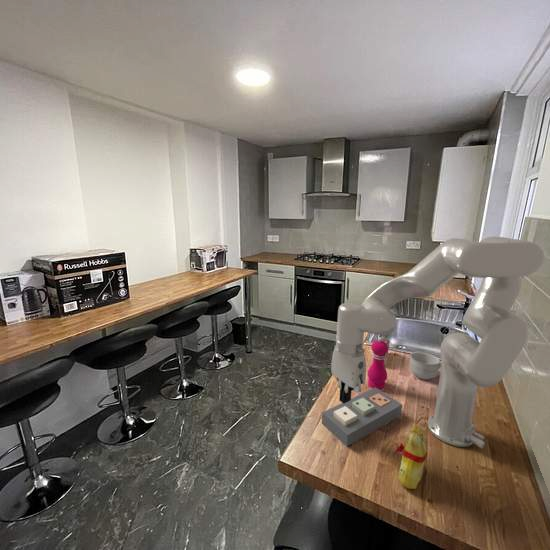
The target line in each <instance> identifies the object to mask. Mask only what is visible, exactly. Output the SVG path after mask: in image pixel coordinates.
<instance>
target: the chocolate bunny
mask: <svg viewBox="0 0 550 550" xmlns="http://www.w3.org/2000/svg"><path fill="white" fill-rule="evenodd" d="M408 434H409V435H408V437H407V440H406V441H405V444H404V445H403V443H400V445H397V446H396V450H395V452H394V453H395V454H396V453H398V452H399V453H402V456H401V462H400V466H399V471H398V477H397V478H398V479H397V480H398V481H399V482H400V484H401V485H402V486H403V487H404V488H406V489H410V490H411V489H413V490H416V488H417V486H418V484H419V483H420V481H421V479H422V476H423V474H424V466H425V461H426V459H427V457H428V451H427V441H426V440H427V439H426V437H425V435H424V433H423V430H422V427H421V426H420V425H419V424H414V425H413V426H412V427H411V428H410V431H409V433H408Z"/></svg>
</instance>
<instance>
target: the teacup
mask: <svg viewBox="0 0 550 550" xmlns="http://www.w3.org/2000/svg"><path fill="white" fill-rule="evenodd" d="M409 356H410V357H409V360H410V361H409V370H410V371H411V373H412V374H413V375H414V376H415V377H417V378H419V379H421V380H432V379H434V378H436V377H440V373H441V371H439V369H441V359H439V358H438V357H437V356H435V355H433V354H431V353H426V352H417V351H416V352H413V353H411V354H410V355H409Z"/></svg>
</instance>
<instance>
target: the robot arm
mask: <svg viewBox="0 0 550 550" xmlns="http://www.w3.org/2000/svg"><path fill="white" fill-rule="evenodd" d="M544 262H545V253H544V251H543V249H542V247H541V246H540V245H538V244H537V243H535V242H531V241H528V240H524V239H523V240H522V239H518V238H517V239H514V238H510V237H503V236H489V237H484V238H483V239H481V240H480V241H475V240H470V239H464V238H457V237H455V238H450V239H447V240H445V241H443V242H442V243H441V244H439V245H438V246H437V247H436V248H434V249H433V251H431V252H430V253H429V254H428V255H426V256H425V257H424V258H423V259H422V260H420V261H419V262H418V264H416V265H415V266H413V267H412V268H411V269H410V270H408V271H407V272H406V273H403V274H401V275H399V276H396V277H395V278H392V279H390V280H389V281H388V280H387V281H386V282H385V283H383V284H381V285H380V286H378V287H377V288H376V289H375V290H374V291H373V292H372V293H370V294H369V295H368V296H367V297H366V298H365V299H364V300H363V301H362V303H361V304H359V303H355V302H344V303H342V304H340V305H339V306H338V310H337V323H336V338H335V345H334V349H333V352H332V357H331V366H330V367H331V370H330V371H331V374H332V376H333V377H334V378H335V379H336V381H337V382H338V383H337V384H338V388H339V399H338V400H339V402H341V403H343V404H344V403H346V402H348V401H350V400H351V399H352V392H355V393H361V392H362V391H363V390H362V385H365V384H366V376H367V364H366V355H365V353H366V350H365V348H363V347H364V337H365V333H368V334H371V335H372V334H373V335H377V336H387V335H390V334H392V333H393V332H394V331H395V330H396V329H397V327H398V320H397V317H396V315H395V314H394V312H393V311H392V310H391V308H392V307H393V306H395V305H397V304H398V303H400V302H403V301H404V300H407V299H412V298H424V297H425V298H427V297H430V296H432V295H434V294H435V293H436V292H438V291H439V290H440V289H441V288H442V287H444V285H446V284H447V283H448V282H450V281H451V280H452V279H453V278H454V277H456V276H457V275H458V274H460V275H463V276H465V277H467V278H468V277H470V278H480V279H482V280H481V284H480V286H479V287H478V290H477V292H476V293H475V295H474V297H473V299H472V300H471V302H470V303H469V306H468V307H467V309H466V311H465V313H464V315H463V318H462V319H463V320H462V322H463V325H464V326H465V328H466V329H468V330H469V331H470V332H471V333H473V334H474V335H475V336H477V337H478V338H480V339H481V340H480V341H478V340H477V339H475V338H474V337H473V336H472V335H471V336H470V335H469V334H466V333H463V332H453V333H450V334H447V336H445V337H444V338H443V340H442V341H441V344H440V350H439V353H440V363H441V367H440V372H441V373H440V375H439V381H438V388H437V396H436V401H435V408H434V414H432V415H431V416H429V418H428V419H427V427H428V429H429V431H430V432H431V434H432V435H433V436H435V437H436V438H437V439H438V440H441V442H444V443H446V444H448V445H450V446H454V447H462V448H463V447H464V448H465V447H466V448H467V447H470V446H472V445H473V444H474V445H476V446H478V447H479V448H480V449H483V448H484V447H485V445H486V441H484V439H485V436H484V435H482V434H480V433H478V432H476V430H475V426H476V425H475V424H473V423H472V421H473V416H474V415H473V414H474V409H475V404H476V398H477V393H478V389H479V388H478V387H481V388H490V387H492V386H495V385H496V384H498V383H499V382H501V380H502V379H504V377H505V376H506V375H507V373H508V371H509V370H510V368H511V367H512V365H513V364H514V362H515V361H516V359H517V358H518V356H519V354H520V353H521V352H522V350H523V349H524V347H525V345H526V343H527V340H528V335H529V329H528V326H527V324H526V322H525V321H524V320H523V319H522V318H521V317H520V316H519V315H516V314H515V313H513V312H511V310H512V308H513V306H514V305H515V302H516V301H517V298H518V297H519V295H520V291H521V287H522V286H521V283H522V281H521V278H522V277H526V276H530V275H533V274H534V273H537V272H538V271H539V270H540V269H541V267H542V266H543V264H544Z"/></svg>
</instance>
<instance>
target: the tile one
mask: <svg viewBox="0 0 550 550" xmlns="http://www.w3.org/2000/svg"><path fill="white" fill-rule="evenodd" d="M333 417H334V418H335V419H336V420H338V421H339V422H340V423H341V424H342V425H343V426H345V427H346V426H348V425H349V424H351V423H353V422H355V421H357V415H356V414H355V413H354V412H352V411H351V410H350V409H348V408H347V407H346V406H344V407H342V408H340V409H338V410H336V411H334V413H333Z"/></svg>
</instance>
